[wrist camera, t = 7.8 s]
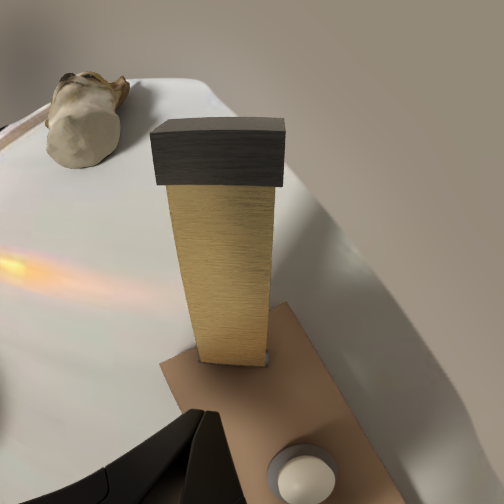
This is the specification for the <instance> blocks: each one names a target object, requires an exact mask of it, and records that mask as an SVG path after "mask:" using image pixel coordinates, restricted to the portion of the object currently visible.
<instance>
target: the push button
mask: <svg viewBox="0 0 504 504" xmlns="http://www.w3.org/2000/svg"><path fill="white" fill-rule="evenodd" d="M277 480H278V487H279V492H280V494H281V496H282V497H283V499H284V500H285V501H286V502H288V503H290V504H318V503H320V502H322V501H324V500H325V499H326V498H327V497H328V496H329V495H330V494H331V492H332V491H333V488H334V485H335V476H334V473H333V471H332V470H331V468H330V467H329V466H328V465H327V464H326V463H325V462H324V461H322V460H321V459H319V458H317V457H314V456H309V455H304V456H298V457H295V458H293V459H291V460H289V461H288V462H286V463H285V464H284V465H283V466H282V468H281V469H280V471H279V474H278V478H277Z"/></svg>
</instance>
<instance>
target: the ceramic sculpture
mask: <svg viewBox="0 0 504 504" xmlns="http://www.w3.org/2000/svg"><path fill="white" fill-rule="evenodd" d="M129 89H130V84H129V82H126V80H125V78H124V77H123V76H121V77H120V78H119V79H118V80H117V81H115V82H113V83H108V82H107V81H106V80H104V79H103V78H102V77H101V76H100V75H99V74H98V73H95V72H82V73H79V74H77V75H75V74H73V73H67V74H65V75H64V76H63V77H62V78H61V80H60V81H59V85H58V86H57V88H56V90H55V92H54V94H53V98H52V102H51V108H50V112H49V116H48V119H47V120H46V122H45V126H46V127H47V128H49V132H48V136H47V149H46V151H47V153H48V154H49V155H50V156H51V157H52V158H53V159H54V160H55V161H56V162H57V163H58V164H60V165H61V166H63V167H66V168H70V169H78V168H82V167H90V166H94V165H96V164H98V163H99V162H100V161H101V160H103V159H104V158H105V157H106V156H108V155H109V154H111V153H112V152H113V151H114V150H115V148H116V147H117V144H118V141H119V137H120V130H121V128H120V119H119V117H118V115H117V114H116V113H115V110H116V109H117V108H118V107H119V106H120V105H121V103H122V102H123V101H124V100H125V99H126V97H127V95H128V93H129Z"/></svg>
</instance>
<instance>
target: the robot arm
mask: <svg viewBox="0 0 504 504" xmlns="http://www.w3.org/2000/svg"><path fill="white" fill-rule="evenodd" d="M20 504H247V501H246V498H245V497H244V493H243V490H242V487H241V484H240V481H239V478H238V475H237V472H236V468H235V465H234V462H233V459H232V455H231V452H230V449H229V445H228V442H227V438H226V435H225V431H224V428H223V424H222V421H221V417H220V413H219V412H217V411H209V410H206V411H204V410H201V409H193V408H191V409H189V410H188V411H186V412H185V413H184V414H182V415H181V416H179V417H178V418H177V419H175V420H174V421H173V422H171V423H170V424H168V425H167V426H166V427H164V428H163V429H161V430H160V431H158V432H157V433H156V434H154V435H153V436H151V437H150V438H148V439H147V440H145V441H144V442H142V443H141V444H139V445H138V446H136V447H135V448H133V449H132V450H130V451H129V452H127V453H126V454H124V455H123V456H121V457H119V458H118V459H116V460H115V461H113V462H111V463H110V464H108V465H107V466H105V468H104V467H103V468H101V469H99V470H98V471H96V472H94V473H93V474H91V475H89V476H87V477H85V478H83V479H81V480H80V481H78V482H75V483H73V484H71V485H69V486H66V487H64V488H62V489H59V490H57V491H54V492H52V493H49V494H46V495H43V496H41V497H38V498H35V499H32V500H29V501H26V502H23V503H20Z"/></svg>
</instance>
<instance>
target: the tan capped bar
mask: <svg viewBox="0 0 504 504" xmlns="http://www.w3.org/2000/svg"><path fill="white" fill-rule="evenodd" d="M285 134H286V131H285V123H284V118H267V117H266V118H265V117H206V118H184V119H169V120H167V121H166V122H164V123H163V124H161V125H160V126H159V127H157V128H156V129H154V130H153V131H152V132H150V140H151V148H152V156H153V163H154V170H155V177H156V183H157V185H166V190H167V197H168V204H169V210H170V216H171V222H172V228H173V234H174V239H175V245H176V250H177V256H178V261H179V266H180V271H181V276H182V281H183V286H184V291H185V295H186V300H187V305H188V309H189V314H190V318H191V322H192V327H193V331H194V335H195V339H196V343H197V347H198V362H199V363H205V364H215V365H226V366H238V367H253V368H268V367H269V351H270V350H269V349H266V341H267V326H268V311H269V295H270V279H271V262H272V244H273V225H274V204H275V187H283V174H284V155H285V154H284V153H285Z"/></svg>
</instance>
